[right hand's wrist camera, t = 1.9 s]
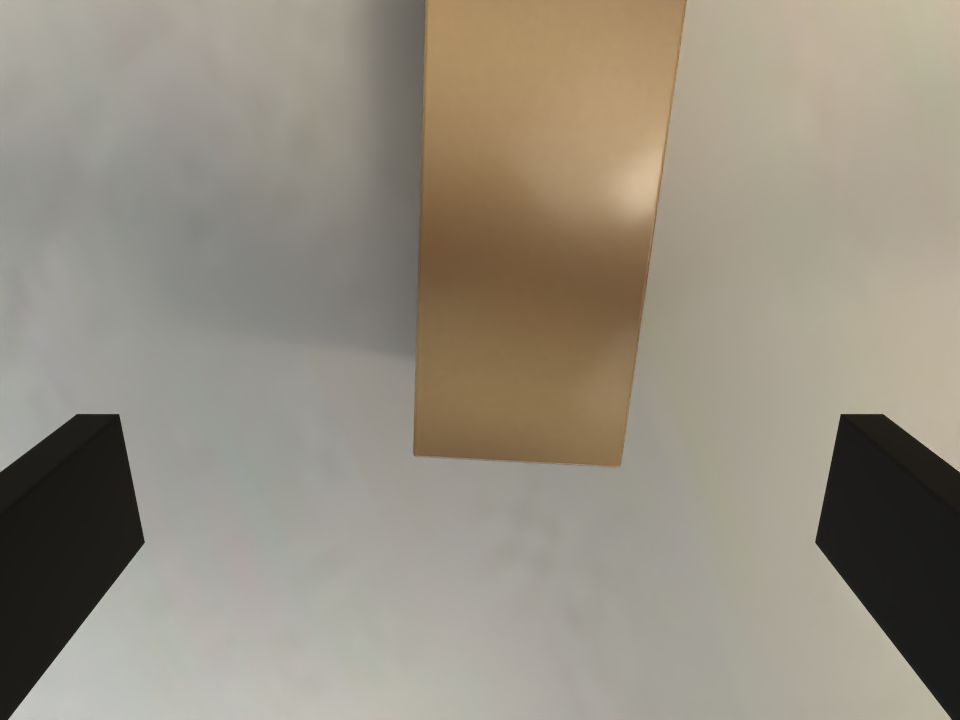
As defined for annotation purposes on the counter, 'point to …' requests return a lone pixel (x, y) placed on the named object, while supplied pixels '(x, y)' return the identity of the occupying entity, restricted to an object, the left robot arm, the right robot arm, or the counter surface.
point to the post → (537, 222)
